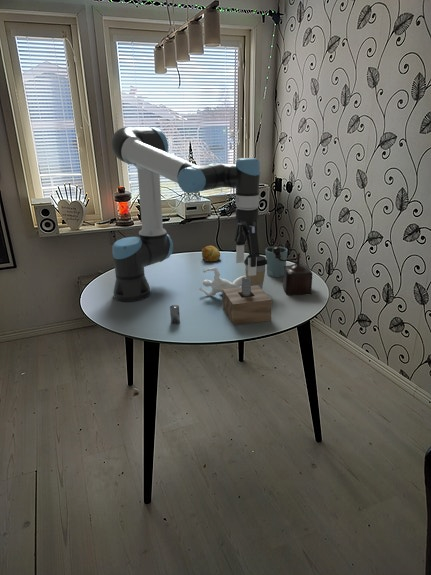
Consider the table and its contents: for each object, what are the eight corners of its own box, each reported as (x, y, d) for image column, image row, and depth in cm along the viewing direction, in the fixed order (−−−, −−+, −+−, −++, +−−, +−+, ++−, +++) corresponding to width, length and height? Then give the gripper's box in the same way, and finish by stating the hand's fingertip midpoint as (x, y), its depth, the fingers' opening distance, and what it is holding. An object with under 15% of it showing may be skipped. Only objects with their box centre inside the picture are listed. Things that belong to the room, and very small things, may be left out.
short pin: (170, 320, 136) (169, 305, 134) (179, 319, 137) (178, 304, 134) (171, 324, 133) (170, 309, 131) (180, 323, 134) (179, 308, 131)
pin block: (222, 308, 144) (222, 289, 141) (257, 304, 147) (258, 285, 144) (233, 325, 132) (232, 304, 129) (271, 320, 134) (271, 299, 131)
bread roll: (201, 255, 208) (201, 241, 205) (219, 255, 208) (218, 241, 205) (202, 263, 196) (201, 248, 193) (221, 262, 196) (220, 247, 193)
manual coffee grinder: (306, 284, 165) (308, 244, 158) (311, 294, 155) (315, 252, 148) (270, 285, 165) (271, 245, 158) (273, 295, 155) (275, 253, 148)
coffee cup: (242, 288, 163) (242, 254, 157) (264, 287, 163) (265, 253, 158) (245, 296, 154) (245, 261, 148) (268, 296, 154) (269, 261, 149)
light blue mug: (281, 279, 172) (282, 253, 167) (261, 275, 177) (261, 250, 172) (289, 272, 180) (291, 248, 175) (270, 269, 185) (270, 245, 180)
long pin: (240, 312, 140) (240, 277, 135) (248, 311, 141) (249, 276, 136) (243, 316, 138) (243, 280, 132) (251, 315, 138) (252, 279, 133)
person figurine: (241, 264, 159) (203, 264, 150) (257, 279, 150) (218, 280, 141) (233, 290, 165) (196, 292, 156) (248, 306, 156) (210, 309, 147)
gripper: (226, 201, 135) (226, 258, 143) (247, 216, 113) (246, 282, 121) (246, 200, 137) (245, 256, 145) (271, 214, 114) (268, 280, 122)
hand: (245, 268), depth 133 cm, fingers open, 13 cm apart
